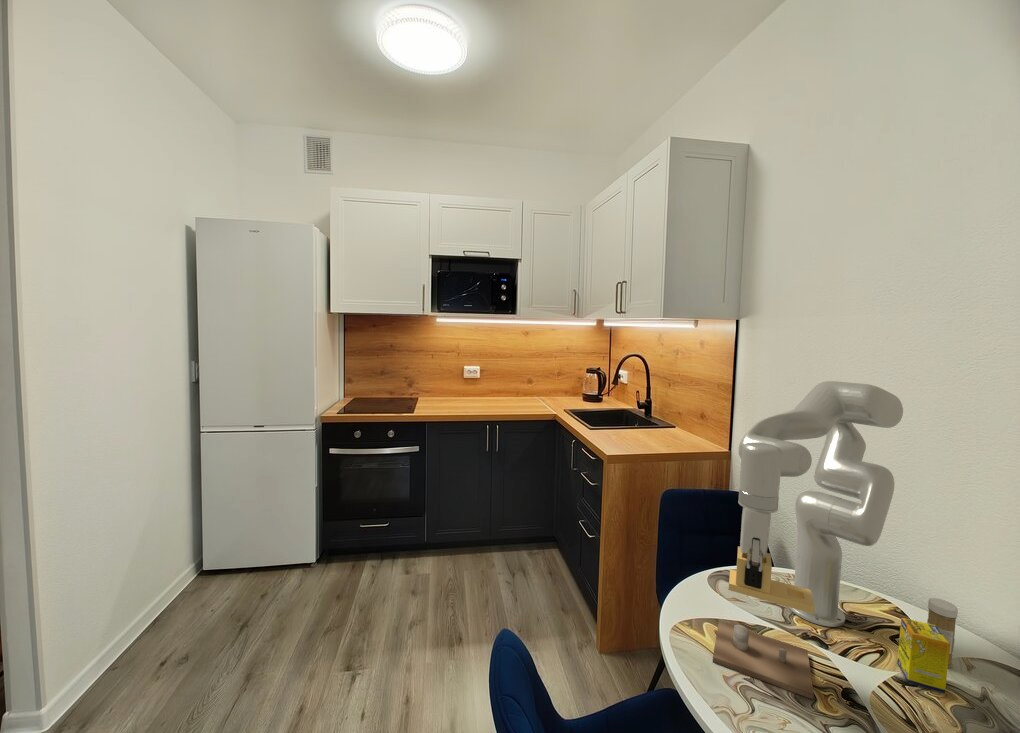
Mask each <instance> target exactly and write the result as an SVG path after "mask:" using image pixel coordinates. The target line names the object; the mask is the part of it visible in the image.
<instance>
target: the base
mask: <svg viewBox="0 0 1020 733" xmlns="http://www.w3.org/2000/svg"><path fill="white" fill-rule="evenodd" d="M712 662H713V663H714V664H717V665H719V666H723V667H725V668H727V669H731V670H734V671H736V672H738V673H741V674H744V675H747V676H749V677H752V678H755V679H757V680H760V681H763V682H765V683H768V684H770V685H773V686H776V687H779V688H781V689H784V690H787V691H789V692H792V693H795V694H797V695H800V696H803V697H805V698H808V699H811V700H814V688H813V682H812V675H811V666H810V659H809V652H808V649H805V648H803V647H800V646H797V645H794V644H792V643H791V644H790V643H787V642H784V641H781V640H779V639H775V638H772V637H769V636H767V635H764V634H761V633H757V632H754V631H752V630H749V629H748V628H747V627H746V626H745V625H742V624H735V625H733V624H730V623H726V622H724V621H722V620H718V625H717V629H716V637H715V643H714V649H713V656H712Z"/></svg>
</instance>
